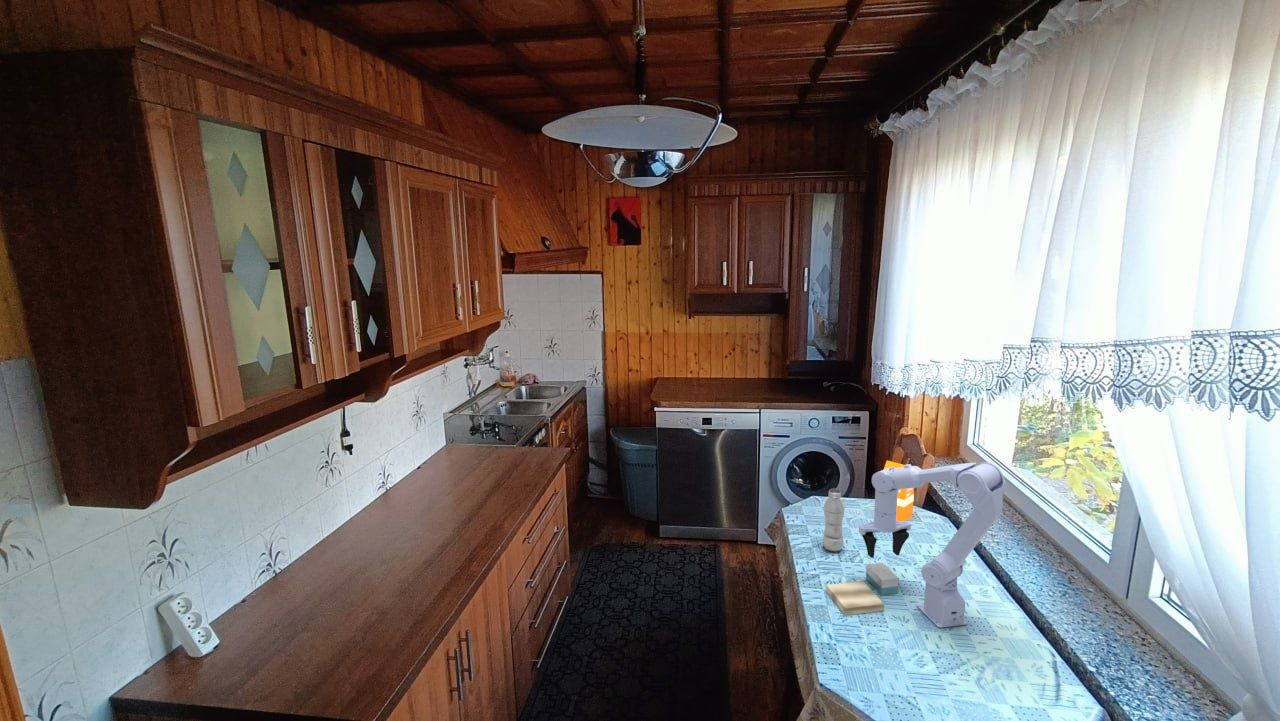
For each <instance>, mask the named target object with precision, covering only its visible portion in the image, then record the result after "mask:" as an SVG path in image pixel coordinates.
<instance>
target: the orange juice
mask: <svg viewBox="0 0 1280 721" xmlns="http://www.w3.org/2000/svg"><path fill="white" fill-rule="evenodd" d="M904 465H905V464H902V463H899V462H898V463H897V462H894V461H891V460H886V462H885V464H884V468H883V470H884V469H887V468H890V467H895V468H901V467H904ZM914 496H915V488H910V489H898V496H897V515H896V521H907V520H909V519H911V518H912V517H913V512H914V511H913V510H914V501H915V500H914V498H915V497H914Z"/></svg>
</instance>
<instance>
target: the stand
mask: <svg viewBox="0 0 1280 721" xmlns="http://www.w3.org/2000/svg"><path fill="white" fill-rule="evenodd" d="M825 589H826V590H825V592H826V593H827V594H828V595H829V597H830V598H831V599H832V601H833V602H834V603H835V605H836V606H837V608H839V610H840V611H841V612H842V614H844V616H849V615H858V614H859V615H861V614H865V613H866V614H867V613H869V614H870V613H878V612H884V611H885V603H884V602H883V601H882V600H881V599H880V598H879V597H878V595H876V594H875V592H874V591H872V589H871V588H870V587H869V586H868V584H867V583H865V582H864V581H863V580H860V581H858V580H857V581H850V582H840V583H832V584H831V583H830V584H826V585H825Z"/></svg>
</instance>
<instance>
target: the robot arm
mask: <svg viewBox="0 0 1280 721" xmlns="http://www.w3.org/2000/svg"><path fill="white" fill-rule="evenodd" d="M976 464H977V462H966V463H965V462H964V463H957V464H950V465H945V466H939V467H933V468H925V469H922V468H921V467H920V466H917V465H912V464H911V463H908V464H903V465H904V467H901V468H895V467H890V468H887V469H884V468H883V469H882V470H880V471H877V472H875V473H873V474H872V476H871V484H872V487H873V488H874V489H875V490H874V491H875V492H874V493H875V494H874V513H873V521H872V522H868V523H865V524H861V525H858V532H859V534H860V535H861V537H862V539H863V541H864V543H865V547H866V552H867V555H868V556H869V557H870V558H872V559H874V557H875V548H876V542H877V541H878V538H877V537H875V534H874V533H889V534H890V533H892V534H891V535H892V552H893V553H894V554H895V556H900V553H901V550H902V549H903V546H904V545H905V542H906V541H907V540H908V539H909V537H910V533H909V532H908V531H911V526H912V524H911V523H909V522H908V521H907V520H906V521H896V515H897V496H898V489H910V488H914V489H917V488H918V489H919V488H922V487H923V486H924V485H925V483H934V482H935V483H938V482H949V483H951V484H952V485H953V487H954V488H959V489H960V491H961V492H962V494H963V495H964V496H965V497H966V499H967V500H968V502H969V503H970V504H971V506H972V507H973V510H972V511H971V513H970V514H969V515H968V516H967V518H966V519H965V521H964V522H963V523H962V525H961V526H960V527H959V528H958V530H957V531H956V533H955V534H954V535H953V536H952V538H951V539H950V540H949V541H948V543H947V545H946V546H945V547H944V548H943V550H942V551H941V552H940V553H938V554H937V555H936V556H935V557H934V558H933V559H932V560H931V561H930V562H927V563H925V564H924V565H923V566H922V567H921V569H920V573H921V577H922V579H923V580H924V582H925V584H924V586H925V587H924V602H922V603H917V604H916V607H917V608H918V609H919V610H920V611H921V612H922V613H923V614H924V615H925V616H926V617H927V618H928V619H929V620H930V621H931V622H932V623H933V624H934V625H935V626H936V627H937V628H947V627H948V628H949V627H957V626H965V625H967V623H968V622H967V621H965V610H966V601H965V599H964V598H963V596H962V595H961V593H960V592H959V590H958V578H959V577H961V576H962V574H963V573H964V565H965V564H966V562H967V560H966V559H967V558H968V556H969V555H970V553H971V552H972V551H973V550H974V549H975V548H976V546H977V545H978V544H979V542H981V540H982V538H984V536H985V534H987V532H988V531H989V530H990V529H991V527H992V526H993V525H994V523H995V522H996V521H997V520H998V518H1000V516H1001V515H1002V513H1003V508H1004V507H1003V506H1004V489H1005V486H1006V484H1007V483H1006V479H1005V478H1004V476H1003V473H1002V470H1001V469H1000V468H999V467H998V466H997V465H996V464H994V463H992V462H988V461H987V462H985V461H984V462H983V461H982V462H980V463H978V464H977V465H976Z"/></svg>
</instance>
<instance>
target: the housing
mask: <svg viewBox="0 0 1280 721" xmlns="http://www.w3.org/2000/svg"><path fill="white" fill-rule="evenodd" d="M865 569H866V571H865V581H866V582H867V583H869V585H870V586H871V587H872V588H873V589H874V590H875V591H876V592H877V593H878V594H879V595H880V596H889V595H897V594H899V577H898V575H897V574H896V573H894V572H893V571H892V570H891V569H890V568H889V567H887V565H886V564H884V562H878V563H877V562H876V563H869V564H868V563H867V564H866V568H865Z"/></svg>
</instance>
